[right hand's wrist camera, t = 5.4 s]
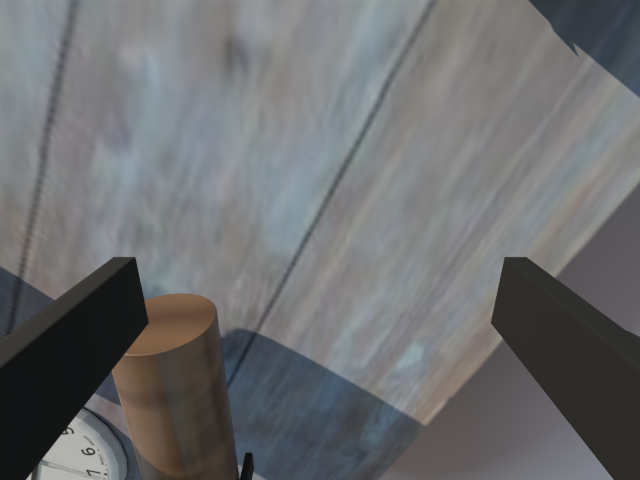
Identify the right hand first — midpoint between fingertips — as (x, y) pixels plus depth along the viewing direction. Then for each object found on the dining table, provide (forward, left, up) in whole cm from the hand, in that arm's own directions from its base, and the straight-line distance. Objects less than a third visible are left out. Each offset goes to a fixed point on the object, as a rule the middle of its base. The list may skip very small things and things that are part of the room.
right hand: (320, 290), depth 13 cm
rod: (+14, +24, -18) cm, 33 cm away
